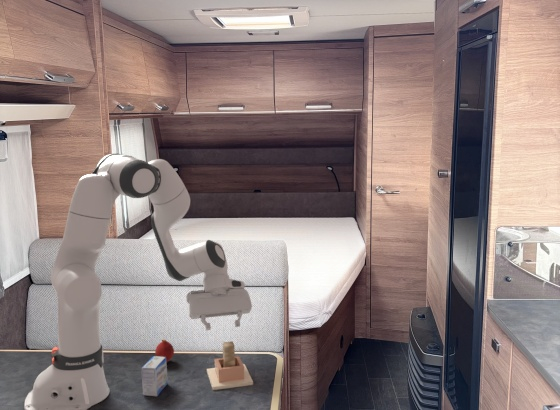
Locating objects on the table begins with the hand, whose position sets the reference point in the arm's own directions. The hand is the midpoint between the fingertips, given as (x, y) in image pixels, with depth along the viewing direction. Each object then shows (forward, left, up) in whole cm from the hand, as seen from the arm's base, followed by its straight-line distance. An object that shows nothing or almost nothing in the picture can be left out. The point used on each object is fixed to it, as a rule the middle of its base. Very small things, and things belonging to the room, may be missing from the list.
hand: (223, 327), depth 179 cm
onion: (-18, +6, -12) cm, 23 cm away
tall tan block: (0, -10, -11) cm, 15 cm away
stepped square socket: (0, -10, -12) cm, 16 cm away
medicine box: (-22, -11, -12) cm, 28 cm away
